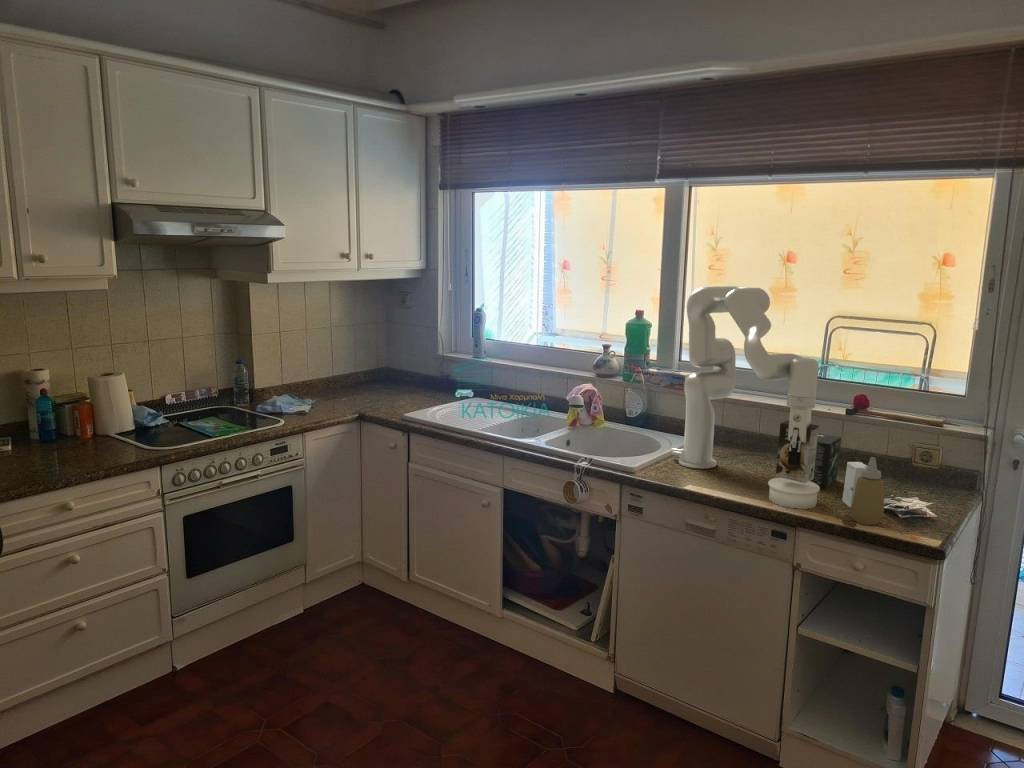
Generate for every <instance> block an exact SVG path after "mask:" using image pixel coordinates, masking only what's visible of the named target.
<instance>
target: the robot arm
mask: <svg viewBox="0 0 1024 768" xmlns="http://www.w3.org/2000/svg"><path fill="white" fill-rule="evenodd" d="M770 305H771V300H770V296H769V294H768V292H767V291H765V290H764V289H762V288H761V287H750V286H749V287H747V286H746V287H745V286H732V285H731V286H730V285H726V286H724V285H723V286H721V285H720V286H718V285H717V286H702V287H699V288H696V289H695V290H694V291H692V292H691V293H690V295H689V297H688V298H687V302H686V315H687V320H688V358H689V362H690V364H691V365H692V366H693V367H695V368H700V369H702V368H712V370H707V371H706V370H704V371H697V372H693V373H691V374H689V375H688V376H686V378H685V380H684V385H683V390H684V394H685V396H684V397H685V422H684V423H685V424H684V438H683V439H684V440H683V441H684V442H683V448H681V449H680V448H674V447H672V448H671V454H672V455H673V456H679V458H678V463H679V465H681V466H683V467H687V468H691V469H698V470H700V469H701V470H704V469H706V470H707V469H711V468H715V467H716V466H717V460H716V459H714V458H713V451H714V450H713V449H714V435H715V422H716V420H715V418H716V413H715V408H714V406H713V404H712V401H711V400H720V399H726V398H729V397H730V396H732V395H733V393H734V390H735V389H736V359H737V358H736V350H735V347H734V344H733V343H732V342H731V341H730V340H729V339H727V338H723V337H718V338H717V337H716V329H717V328H716V324H715V321H714V319H713V317H712V316H711V315H710V314H714V313H716V314H718V313H719V314H720V313H728V314H730V315H729V316H731V317H732V320H734V322H735V324H736V325H737V327H738V328H739V330H740V331H741V334H743V336H744V342H743V343H744V344H743V349H744V350H743V351H744V357H745V359H746V362H747V363H748V365H749V366H750V369H751V370H752V371H753V372H754V373H755V375H756V376H757V377H758V378H759V379H761V380H763V381H765V382H770V381H774V382H775V381H783V380H788V385H787V387H788V388H787V398H786V406H787V407H788V408H790V409H789V410H790V411H789V431H788V440H789V441H790V440H791V441H790V448H789V453H788V464H789V465H796V466H799V465H800V457H801V452H800V447H801V442H803V443H806V437H807V428H808V427H809V426H810V424H812V409H815V408H816V400H817V399H816V398H817V397H816V396H817V388H818V378H819V376H818V375H819V362H818V360H817V359H814V358H811V357H802V356H800V355H797V354H795V353H774V354H769V352H768V351H767V350H766V349H765V347H764V345H763V344H762V341H761V339H762V338H763V337H765V336H766V335H767V334H768V333H769V331H770V330H771V327H772V323H771V320H770V319H769V318H768V316H767V315H766V314H765V313H766V312H767V311H768V310H769V308H770ZM798 433H799V437H800V441H797V438H798ZM790 437H791V439H790Z"/></svg>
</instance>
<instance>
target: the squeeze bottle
mask: <svg viewBox="0 0 1024 768" xmlns="http://www.w3.org/2000/svg"><path fill="white" fill-rule="evenodd" d="M866 466H867V469H863V470H862V476H860V477H859V478H858V479H857V483H856V487H855V492H854V496H853V501H852V505H851V511H852V515H853V516H852V517H853V520H854V521H855V522H856V523H859V524H861V525H867V526H875V525H878V524H879V522H880V520H881V518H882V516H883V514H884V513H885V481H884V480H883V479H881V477H882V472H881V470H878V466H877V458H876V457H873V456H871V457H870V459H869V462H868V464H867V465H866Z"/></svg>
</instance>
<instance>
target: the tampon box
mask: <svg viewBox="0 0 1024 768" xmlns="http://www.w3.org/2000/svg"><path fill="white" fill-rule="evenodd" d="M841 441H842V437H841V436H836V435H831V434H824V433H819V432H818V439H817V448H816V457H815V467H814V478H813V479H812V480H810V482H813V483H815V484H817V485H818V486H819V487H820V489H824V490H827V489H828V488H830V487H831V486H832V485H833V484H835V483H836V482H837V479H838V469H839V462H840V461H839V460H840V450H841Z"/></svg>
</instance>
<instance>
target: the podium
mask: <svg viewBox="0 0 1024 768" xmlns="http://www.w3.org/2000/svg"><path fill="white" fill-rule="evenodd" d="M767 485H768V486H769V493H768V500H769V501H770V502H771V501H772V502H773V504H774V503H775V504H774V505H776V504H778V505H777V506H779V505H781V506H780V507H782V506H785V507H784V508H786V507H790V508H789V509H793V508H797V509H796V510H807V509H808V508H809V509H812V508H813V509H814V508H815V507H816V506H817V502H818V501H817V500H818V493H819V492H820V490H821V488H820V487H819V486H818V485H817V484H815V483H813V482H810V481H809V482H807V483H802V482H797V481H793V480H789V479H785V478H780V477H773V478H771V479H769V480H768V483H767ZM772 502H771V503H772Z"/></svg>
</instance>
